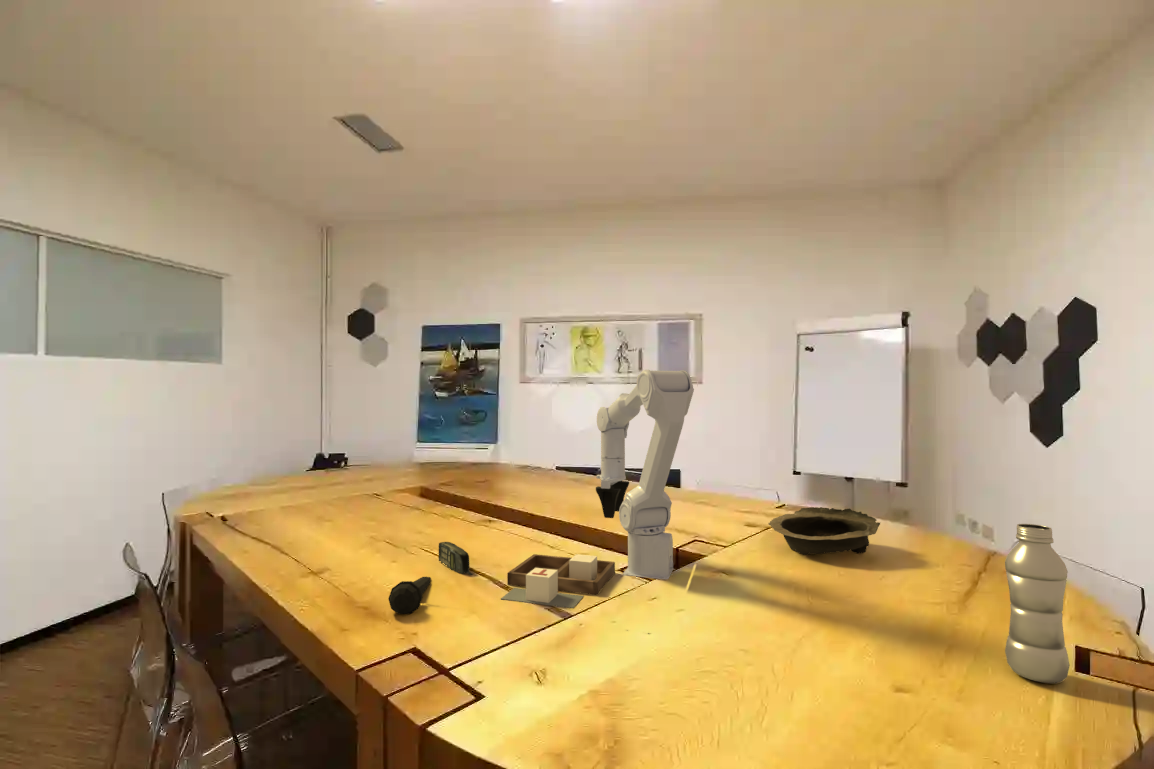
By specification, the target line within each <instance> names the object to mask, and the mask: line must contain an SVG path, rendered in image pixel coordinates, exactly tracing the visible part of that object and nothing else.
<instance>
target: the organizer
mask: <svg viewBox="0 0 1154 769" xmlns="http://www.w3.org/2000/svg"><path fill="white" fill-rule="evenodd" d="M571 558H572V557H568V556H557V555H547V554H546V555H545V554H535V553H534V554H532V555H530V556H529V557H528V558H526V559H525V560H524V561H522V562H520V563H519V564H518V565H516V566H515V567H514V568H512V569H511V570H509V571H508V572H507V574H506V575H507V576H506V577H507V578H506V579H507V581H506V583H507V586H514V587H520V588H521V587H523V588H526V575H527V574H528V573H529V572H531V571H532V570H533V569H535V568H543V569H552V570H558V591H559V592H567V593H574V594H583V595H590V596H591V595H592V596H598V595H599V593H600V592H601V591H602V590H603V588H604V587H605V586H607V583H608V582H609V581H610V580H611V579H612V577H613V576H614V575H615V573H616V566H615V565H616V562H615V561H612V560H611V561H610V560H600V559H599V560H598V559H597V578H596V579H595V580H594V581H592V580H583V579H573V578H569V560H570V559H571Z"/></svg>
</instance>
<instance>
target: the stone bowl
mask: <svg viewBox="0 0 1154 769" xmlns="http://www.w3.org/2000/svg"><path fill="white" fill-rule="evenodd" d="M877 521H878V520H877V518H875V517H872V516H870V515H868V514H867V513H862V511H856V510H853V509H851V508H844V509H841V508H840V509H839V508H837V509H836V508H833V507H831V508H829V507H824V506H822V507H817V506H815V507H813V506H810V507H803V508H802V507H801V508H800V509H799V510H796V511H794V513H784V514H783V515H779V516H777V517H774V518H773V519H771V520H769V522H768V525H769V526H770V527H771V528H772V529H773V531H775V532H777V533H779V534H781V535H782V536H783V538H784V540H785V541H786V543H787V545H788V547H789V548H790V549H791V550H792V551H795V552H797V553H799V554H801V555H805V556H807V555H809V554H811V555H823V554H824V555H825V554H832V553H839V552H840V553H843V552H849V551H851V552H852V553H855V554H864V553H866V552H867V548H868V547H869V544H870V540H869V536H873V535H875V534H876V533H877V531H878V530H879V527H880V525H881V522H877Z"/></svg>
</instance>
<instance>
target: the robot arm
mask: <svg viewBox="0 0 1154 769" xmlns="http://www.w3.org/2000/svg"><path fill="white" fill-rule="evenodd" d="M694 390H695V389H694V385H693V382H692V378H691V375H690V374H689V372H687V371H686V370H650V369H643V370H642V371H641V372H640V373H639V374H638V375H637V378H636V385H635V387H633V389H632V390H631V391H630V393H627V392H626V393H624V392H622V393H620V394H619V396H618V398H616V400H614V401H613V402H612V403H611V404H610V405H609V406H608V407H605V406H601V407H599V409H598V411H597V413H596V424H597V428H598V430H599V431H600V467H601V468H600V474H597V475H596V479H597V480H598V479H600V486H596V487H595V492H596V494H597V495H598V498H599V501H600V504H601V509H602V513H603V517H604V518H605V519H614V518H615V514H616V512H618V518H619V522H620V526H622V528H623V529H624V530H625V531H626V532H627V568H625V570H624V571H623V573H622V575H623V576H627V577H636V578H638V577H639V578H648V579H657V580H669V579H670V576H671V575H672V572H673V570H674V555H673V554H674V546H673V545H674V544H673V543H674V542H673V541H674V540H673V539H674V538H673V534H672V533H670V532H665V531H666V528H667V526H669V524H670V521H671V518H672V517H671V508H672V503H673V502H672V500H671V498H670V496H669V495H668V494H667V492H666V491H665V488H666V484H667V481H668V478H669V475H670V471H671V468H672V465H673V460H674V458H675V454H676V450H677V448H678V444H679V441H680V436H681V433H682V430H683V426H684V423H685V417H686V415H687V414H688V412H689V408H690V405H691V403H692V402H691V401H692V398H693V395H694ZM642 406H643V407H644V410H645V412H646V414H647V416H649V417H651V418H652V419H653V420H655V421H654V422H655V423H654V427H653V429H652V433H651V437H650V441H649V445H648V448H647V453H646V456H645V460H644V462H643V463H644V464H643V467H642V471H641V475H640V477H639V483H638V485H636V486H635V487H633V489H630V490H629V491H628V492H627V489H628V488H629V485H630V481H628V480H627V478H626V477H627V476H626V448H625V446H626V440H625V439H627V436H628V429H629V427H630V422H631V421H632V420H633V419H635V417H637V416H638V415H639V414H640V412H641V407H642ZM626 492H627V493H626Z"/></svg>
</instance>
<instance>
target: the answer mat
mask: <svg viewBox="0 0 1154 769" xmlns="http://www.w3.org/2000/svg"><path fill="white" fill-rule="evenodd" d="M584 597H585V596H584V595H581V594H580V595H579V594H572V593H562V592H558V595H557V596H556V597H554V598H553V599H552V600H551V601H550V602H549V603H546V602H538V601H530V600H526V588H521V587H514V588H512V589H511V590H510V591H509V592H508V593H506V594H505V595H504V596H502V597H501V598H500V600H503V601H509V602H510V601H511V602H519V603H526V604H534V605H543V606H549V607H559V608H567V609H575V608H576V606H577V605H578V604H579V602H581V600H582V599H583V598H584Z"/></svg>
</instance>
